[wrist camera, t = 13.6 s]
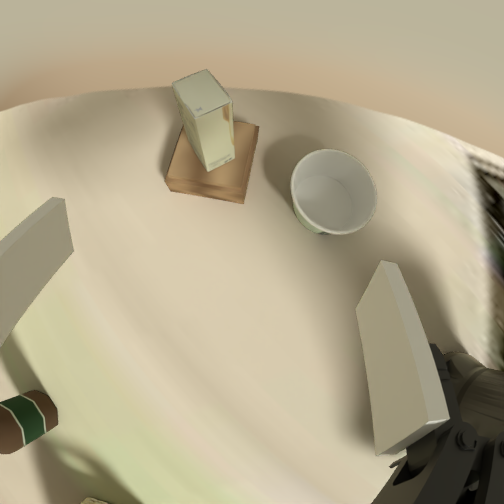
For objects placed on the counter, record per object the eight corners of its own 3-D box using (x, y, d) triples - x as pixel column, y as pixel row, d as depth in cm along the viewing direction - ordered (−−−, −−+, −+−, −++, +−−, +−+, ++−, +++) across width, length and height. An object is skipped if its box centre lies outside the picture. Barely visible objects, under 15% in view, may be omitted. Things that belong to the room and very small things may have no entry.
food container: (285, 163, 44) (292, 142, 37) (358, 174, 44) (374, 156, 38) (280, 239, 42) (288, 228, 35) (359, 248, 42) (378, 239, 36)
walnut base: (257, 140, 44) (259, 122, 39) (243, 204, 42) (244, 191, 37) (190, 129, 44) (185, 112, 39) (170, 191, 42) (162, 177, 37)
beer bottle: (22, 389, 35) (-73, 419, 12) (51, 388, 36) (-51, 426, 12) (36, 428, 34) (-48, 474, 11) (66, 430, 35) (-21, 487, 11)
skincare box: (236, 158, 38) (236, 103, 26) (207, 173, 38) (195, 121, 26) (214, 125, 39) (207, 66, 27) (186, 138, 38) (170, 82, 26)
